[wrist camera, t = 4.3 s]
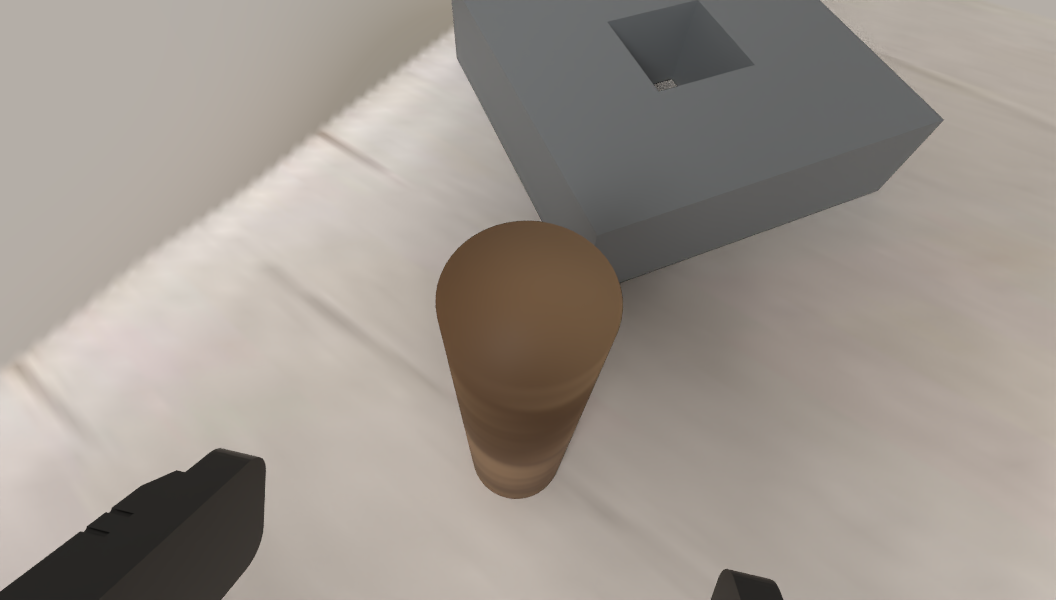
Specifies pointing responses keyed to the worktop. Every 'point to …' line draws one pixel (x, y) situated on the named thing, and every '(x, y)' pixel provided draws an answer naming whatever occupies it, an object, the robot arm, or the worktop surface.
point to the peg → (525, 345)
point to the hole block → (684, 116)
